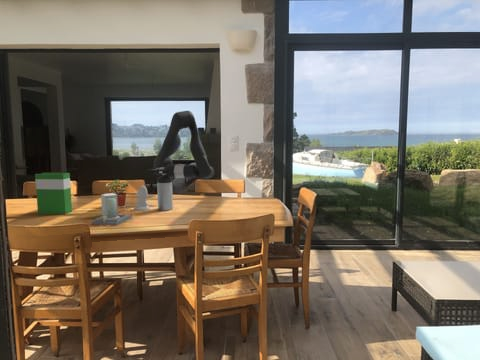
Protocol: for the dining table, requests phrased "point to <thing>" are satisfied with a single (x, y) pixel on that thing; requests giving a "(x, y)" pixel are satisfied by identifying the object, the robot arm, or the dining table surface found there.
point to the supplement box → (104, 202)
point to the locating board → (104, 221)
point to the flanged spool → (112, 209)
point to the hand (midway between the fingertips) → (149, 170)
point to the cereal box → (53, 193)
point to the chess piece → (142, 199)
